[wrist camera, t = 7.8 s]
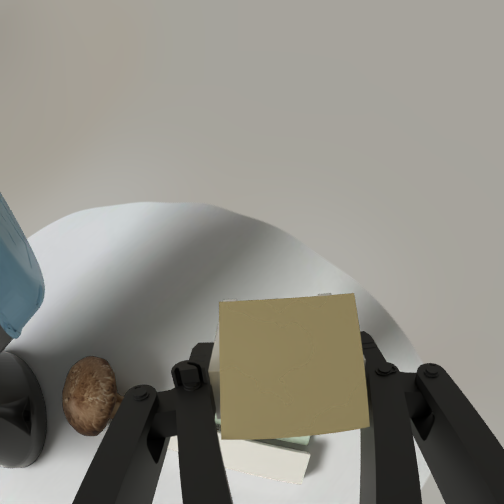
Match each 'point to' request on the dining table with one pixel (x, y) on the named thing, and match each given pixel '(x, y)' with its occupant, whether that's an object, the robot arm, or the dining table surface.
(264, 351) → the block
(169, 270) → the dining table surface
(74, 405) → the mushroom
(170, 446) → the door edge
